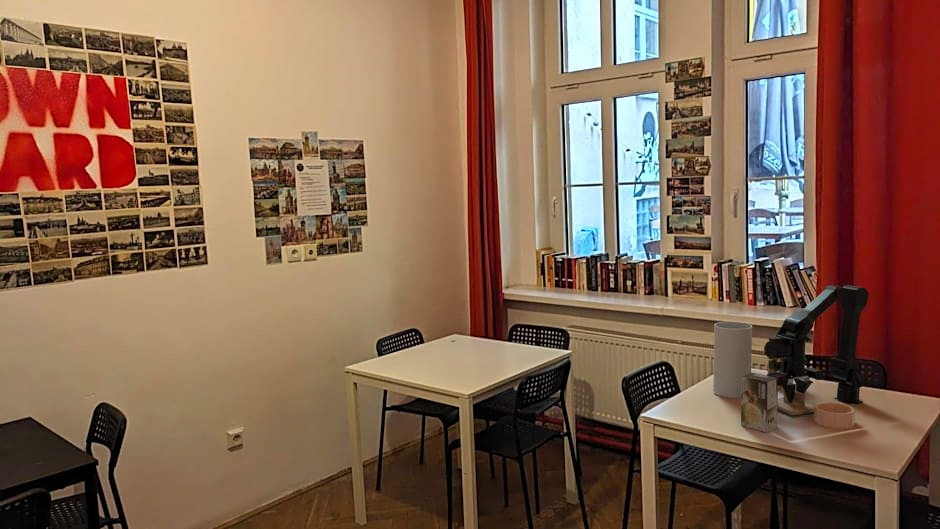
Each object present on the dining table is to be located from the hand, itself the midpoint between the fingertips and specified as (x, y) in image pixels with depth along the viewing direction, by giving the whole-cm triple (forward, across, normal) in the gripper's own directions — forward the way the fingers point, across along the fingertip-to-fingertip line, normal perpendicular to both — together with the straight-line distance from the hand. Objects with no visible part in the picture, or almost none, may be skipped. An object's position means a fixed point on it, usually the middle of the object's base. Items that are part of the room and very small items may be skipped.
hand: (794, 401), depth 234 cm
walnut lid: (+2, 0, 0) cm, 2 cm away
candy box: (+3, -14, -23) cm, 27 cm away
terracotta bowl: (+3, -2, +14) cm, 15 cm away
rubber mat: (+3, 0, 0) cm, 3 cm away
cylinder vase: (+3, +7, -22) cm, 23 cm away
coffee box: (+3, +21, +8) cm, 23 cm away
